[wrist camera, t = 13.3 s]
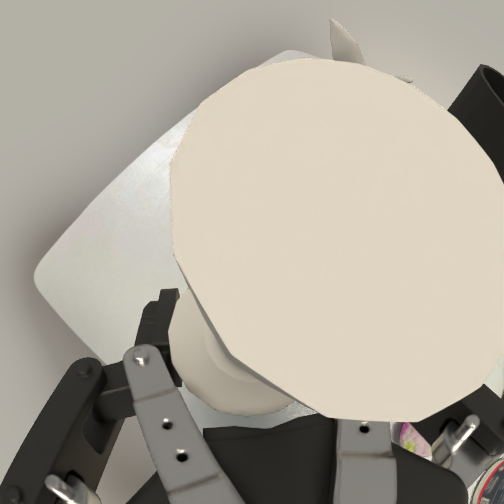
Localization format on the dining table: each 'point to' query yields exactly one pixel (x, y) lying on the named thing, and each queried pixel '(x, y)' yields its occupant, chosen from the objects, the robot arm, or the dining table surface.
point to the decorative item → (414, 441)
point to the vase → (484, 113)
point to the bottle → (334, 247)
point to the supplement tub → (491, 486)
